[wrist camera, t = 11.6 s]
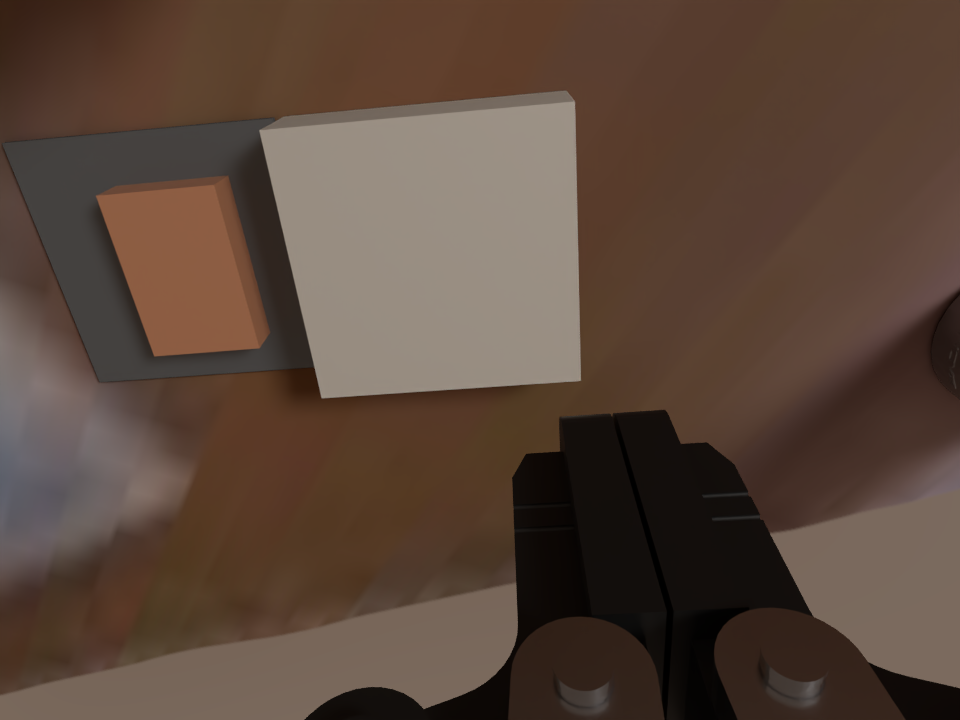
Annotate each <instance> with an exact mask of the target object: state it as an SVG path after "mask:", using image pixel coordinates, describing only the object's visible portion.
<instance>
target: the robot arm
mask: <svg viewBox="0 0 960 720" xmlns="http://www.w3.org/2000/svg"><path fill="white" fill-rule="evenodd" d="M931 356H932V364H933V368H934V370H935V373H936V375H937V377H938V379H939V380H940V381H941V382H942V384H943V385H944V386H945V387H946V388H947V389H948V390H949V391H950V392H952V393H953V394H954V395H955V396H956V397H957V398H959V399H960V295H959V296H958V297H957V298H956V300H955V301H954V302H953V303H952V304H951V305H950V306H949V307H948V309H947V311H946V312H945V314H944V316H943V317H942V319H941V320H940V322H939V324H938V327H937V329H936V332H935V335H934V337H933V343H932V351H931ZM559 433H560V452H548V453H531V454H526V455H525V457H524V458H523V460H522V462H521V464H520V465H519V467H518V469H517V471H516V472H515V474H514V476H513V477H512V481H513V506H514V530H515V559H516V585H517V609H518V634H517V638H516V642H515V646H514V648H513V650H512V653H511V655H510V657H509V658H508V660H507V661H506V663H505V664H504V666H503V667H502V668H501V669H500V670H499V671H498V672H497V674H496V675H494V676H493V677H492V678H491V679H490V680H488V681H487V682H486V683H484V684H483V685H481V686H480V687H478V688H476V689H475V690H473V691H470V692H468V693H466V694H464V695H461V696H459V697H456V698H453V699H451V700H448V701H445V702H442V703H440V704H437V705H434V706H431V707H429V708H426V709H423V708H422V707H421V706H420V705H419V704H418V703H417V702H416V701H415V700H414V699H412V698H410V697H409V696H407V695H405V694H404V693H401V692H398V691H396V690H393V689H388V688H382V687H368V688H361V689H355V690H352V691H349V692H345V693H343V694H341V695H338V696H336V697H334V698H332V699H330V700H329V701H327V702H326V703H324V704H323V705H321V706H320V707H318V708H317V709H316V710H315V711H314V712H312V713H311V714H310V715H309V716H308V717H307V718H306V719H305V720H960V688H956V687H952V686H947V685H943V684H939V683H934V682H930V681H925V680H921V679H917V678H912V677H908V676H904V675H901V674H897V673H893V672H890V671H888V670H885V669H882V668H880V667H877V666H875V665H873V664H871V663H869V662H867V660H866V659H865V657H864V656H863V655H862V653H861V652H860V651H859V650H858V648H857V647H856V646H855V645H854V644H853V643H852V642H851V641H850V640H849V639H848V638H846V637H845V636H844V635H843V634H841V633H840V632H839V631H838V630H836V629H835V628H833V627H831V626H830V625H828V624H826V623H825V622H823V621H821V620H819V619H817V618H814V617H813V615H812V613H811V612H810V610H809V608H808V606H807V605H806V603H805V601H804V599H803V597H802V595H801V593H800V591H799V589H798V587H797V585H796V583H795V581H794V579H793V577H792V576H791V574H790V572H789V570H788V568H787V566H786V564H785V562H784V560H783V558H782V557H781V554H780V552H779V550H778V548H777V547H776V545H775V543H774V541H773V539H772V537H771V535H770V533H769V531H768V529H767V527H766V525H765V523H764V521H763V520H760V514H759V512H758V510H757V508H756V506H755V504H754V502H753V500H752V498H751V497H749V496H748V490H747V489H746V487H745V485H744V483H743V481H742V479H741V477H740V475H739V473H738V471H737V469H736V467H735V465H734V464H733V463H732V462H731V461H729V460H728V459H727V458H726V457H724V456H723V455H722V454H721V453H719V452H718V451H717V450H716V449H714V448H713V447H712V446H711V445H709V444H708V443H690V444H680V441H679V439H678V436H677V434H676V432H675V429H674V427H673V425H672V422H671V420H670V417H669V415H668V413H667V412H666V411H665V410H655V411H640V412H624V413H613V416H611V414H596V415H581V416H565V417H560V418H559Z"/></svg>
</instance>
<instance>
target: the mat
mask: <svg viewBox="0 0 960 720" xmlns="http://www.w3.org/2000/svg"><path fill="white" fill-rule="evenodd" d="M273 122H275V119H274V118H263V119H253V120H242V121H231V122H220V123H209V124H199V125H188V126H177V127H166V128H155V129H144V130H134V131H123V132H112V133H101V134H90V135H79V136H69V137H58V138H47V139H36V140H25V141H14V142H5V143H2V145H3V147H4V150H5V152H6V155H7V157H8V160H9V162H10V164H11V167H12V169H13V172H14V174H15V177H16V179H17V182H18V184H19V186H20V189H21V191H22V194H23V196H24V199H25V201H26V204H27V206H28V208H29V211H30V213H31V216H32V218H33V221H34V223H35V226H36V228H37V230H38V233H39V235H40V238H41V240H42V243H43V245H44V248H45V250H46V252H47V255H48V257H49V260H50V262H51V265H52V267H53V270H54V272H55V274H56V277H57V279H58V282H59V284H60V287H61V289H62V292H63V294H64V296H65V299H66V301H67V304H68V306H69V309H70V311H71V314H72V316H73V318H74V321H75V323H76V326H77V328H78V331H79V333H80V336H81V338H82V340H83V343H84V345H85V348H86V350H87V353H88V355H89V358H90V360H91V362H92V365H93V367H94V370H95V372H96V375H97V377H98V380H99V382H110V381H125V380H139V379H153V378H167V377H182V376H196V375H210V374H224V373H239V372H253V371H267V370H281V369H296V368H310V367H314V363H313V359H312V355H311V350H310V346H309V342H308V337H307V333H306V329H305V325H304V320H303V316H302V312H301V307H300V303H299V299H298V294H297V290H296V286H295V282H294V277H293V273H292V269H291V264H290V260H289V256H288V252H287V247H286V243H285V239H284V234H283V230H282V226H281V222H280V217H279V213H278V209H277V204H276V200H275V196H274V192H273V187H272V183H271V179H270V174H269V170H268V166H267V162H266V157H265V153H264V149H263V144H262V140H261V136H260V131H259V130H261V129H262V128H264V127H266V126H268V125H270V124H272V123H273ZM217 176H228V177H229V180H230V184H231V188H232V192H233V195H234V199H235V203H236V207H237V210H238V214H239V218H240V222H241V225H242V229H243V233H244V236H245V240H246V244H247V248H248V251H249V255H250V259H251V263H252V266H253V270H254V274H255V278H256V281H257V285H258V289H259V293H260V296H261V300H262V304H263V308H264V311H265V315H266V319H267V322H268V326H269V330H270V334H269V335H268V337H267V338H266V339H265V341H264V342H263V344H262V345H261V347H260V348H257V349H244V350H231V351H218V352H206V353H193V354H180V355H167V356H154V354H153V351H152V349H151V346H150V343H149V340H148V338H147V335H146V332H145V330H144V327H143V324H142V321H141V319H140V316H139V313H138V310H137V308H136V305H135V302H134V299H133V297H132V294H131V291H130V288H129V286H128V283H127V280H126V277H125V275H124V272H123V269H122V266H121V264H120V261H119V258H118V255H117V253H116V250H115V247H114V244H113V242H112V239H111V236H110V233H109V231H108V228H107V225H106V222H105V220H104V217H103V214H102V211H101V209H100V206H99V203H98V200H97V198H96V195H99V194H101V193H103V192H105V191H107V190H109V189H111V188H113V187H115V186H121V185H131V184H142V183H153V182H164V181H174V180H185V179H196V178H206V177H217Z"/></svg>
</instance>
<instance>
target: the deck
mask: <svg viewBox="0 0 960 720" xmlns="http://www.w3.org/2000/svg"><path fill="white" fill-rule="evenodd" d="M259 131H260V136H261V140H262V144H263V149H264V153H265V157H266V162H267V166H268V170H269V174H270V179H271V183H272V187H273V192H274V196H275V200H276V204H277V209H278V213H279V217H280V222H281V226H282V230H283V234H284V239H285V243H286V247H287V252H288V256H289V260H290V264H291V269H292V273H293V277H294V282H295V286H296V290H297V294H298V299H299V303H300V307H301V312H302V316H303V320H304V325H305V329H306V333H307V337H308V342H309V346H310V350H311V355H312V359H313V363H314V367H315V372H316V376H317V380H318V385H319V389H320V393H321V397H322V398H334V397H349V396H363V395H378V394H393V393H408V392H423V391H438V390H452V389H467V388H482V387H497V386H512V385H527V384H541V383H556V382H571V381H581V366H580V318H579V271H578V224H577V177H576V130H575V101H574V100H573V98H572V97H571V96H570V95H569V93H568V92H567V91H556V92H545V93H534V94H523V95H513V96H502V97H491V98H480V99H469V100H458V101H448V102H437V103H426V104H415V105H404V106H393V107H383V108H372V109H361V110H350V111H339V112H328V113H318V114H307V115H296V116H285V117H282V118H281V119H279V120H277V121H275V122H273V123H272V124H270V125H268V126H266V127H264V128H262V129H261V130H259Z"/></svg>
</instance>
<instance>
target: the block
mask: <svg viewBox="0 0 960 720" xmlns="http://www.w3.org/2000/svg"><path fill="white" fill-rule="evenodd" d="M96 198H97V200H98V203H99V206H100V209H101V211H102V214H103V217H104V220H105V222H106V225H107V228H108V231H109V233H110V236H111V239H112V242H113V244H114V247H115V250H116V253H117V255H118V258H119V261H120V264H121V266H122V269H123V272H124V275H125V277H126V280H127V283H128V286H129V288H130V291H131V294H132V297H133V299H134V302H135V305H136V308H137V310H138V313H139V316H140V319H141V321H142V324H143V327H144V330H145V332H146V335H147V338H148V340H149V343H150V346H151V349H152V351H153V354H154V356H167V355H180V354H193V353H206V352H218V351H231V350H244V349H257V348H260V347H261V345H262V344H263V342H264V341H265V339H266V338H267V337H268V335H269V334H270V330H269V326H268V322H267V319H266V315H265V311H264V308H263V304H262V300H261V296H260V293H259V289H258V285H257V281H256V278H255V274H254V270H253V266H252V263H251V259H250V255H249V251H248V248H247V244H246V240H245V236H244V233H243V229H242V225H241V222H240V218H239V214H238V210H237V207H236V203H235V199H234V195H233V192H232V188H231V184H230V180H229V177H228V176H217V177H206V178H196V179H185V180H174V181H164V182H153V183H142V184H131V185H121V186H115V187H113V188H111V189H109V190H107V191H105V192H103V193H101V194H99V195H96Z"/></svg>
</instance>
